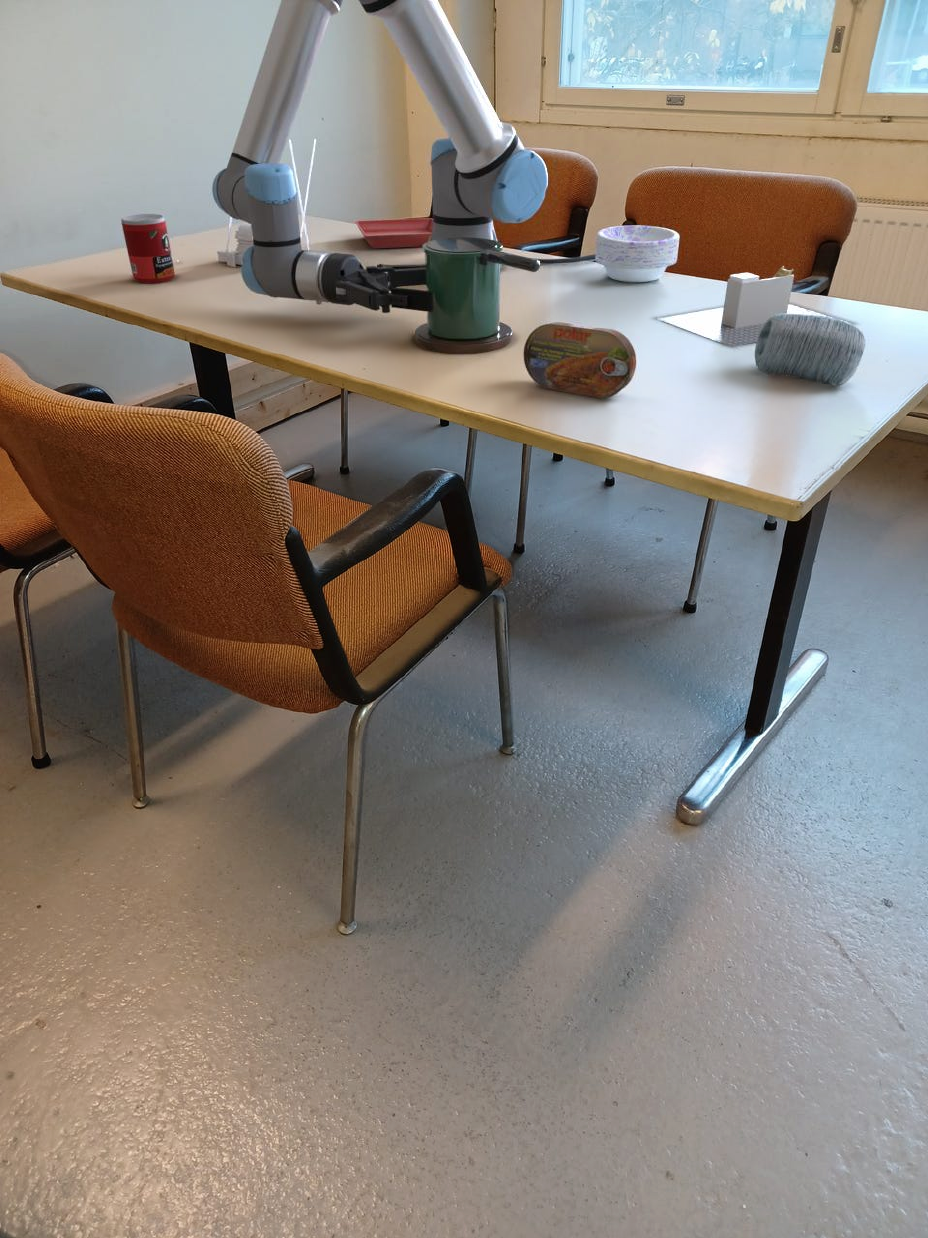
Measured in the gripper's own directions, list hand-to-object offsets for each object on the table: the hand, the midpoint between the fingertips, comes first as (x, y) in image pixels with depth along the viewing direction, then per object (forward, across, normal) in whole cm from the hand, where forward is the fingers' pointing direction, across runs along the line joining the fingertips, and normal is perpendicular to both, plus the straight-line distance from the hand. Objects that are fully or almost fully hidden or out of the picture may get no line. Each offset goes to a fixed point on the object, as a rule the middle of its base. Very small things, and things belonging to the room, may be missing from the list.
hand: (452, 290), depth 132 cm
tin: (+25, +15, -7) cm, 30 cm away
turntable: (+2, 0, -7) cm, 7 cm away
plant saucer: (-43, -62, -7) cm, 76 cm away
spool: (+51, -2, -7) cm, 52 cm away
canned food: (-70, -12, -7) cm, 72 cm away
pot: (+6, +2, -5) cm, 9 cm away
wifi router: (-62, -35, -7) cm, 72 cm away
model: (+41, -27, -7) cm, 49 cm away
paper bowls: (+14, -49, -7) cm, 52 cm away
